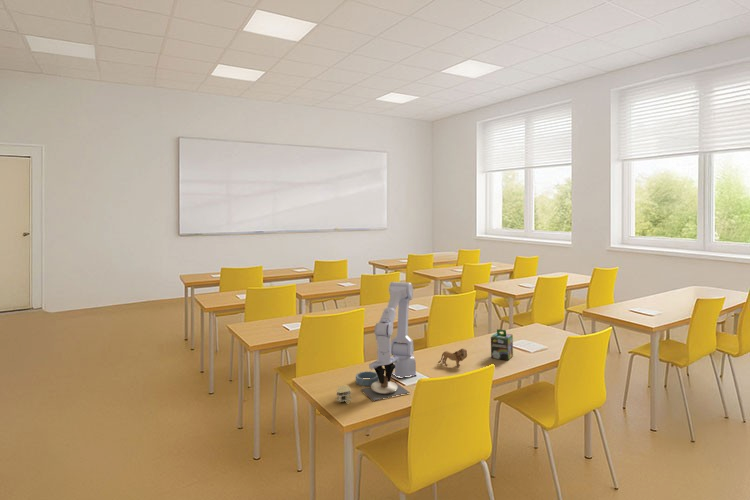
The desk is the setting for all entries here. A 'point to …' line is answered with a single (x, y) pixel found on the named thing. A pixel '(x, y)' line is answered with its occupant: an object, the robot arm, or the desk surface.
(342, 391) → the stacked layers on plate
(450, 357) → the lion figurine
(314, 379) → the desk surface
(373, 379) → the bowl
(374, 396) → the mat
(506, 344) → the chalk box
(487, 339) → the desk surface
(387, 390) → the lid
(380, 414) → the desk surface
